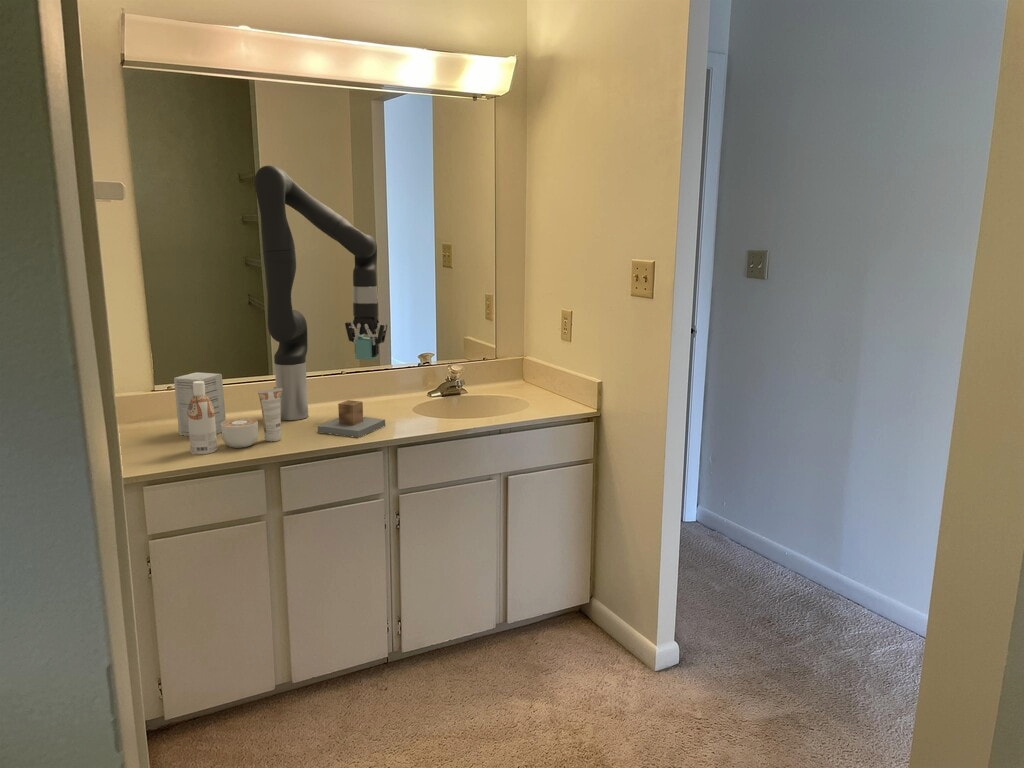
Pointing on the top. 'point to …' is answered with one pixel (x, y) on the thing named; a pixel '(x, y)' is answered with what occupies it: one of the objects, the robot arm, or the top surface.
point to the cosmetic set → (231, 422)
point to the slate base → (351, 427)
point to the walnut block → (350, 412)
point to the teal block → (363, 349)
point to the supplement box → (186, 393)
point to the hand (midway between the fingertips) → (366, 355)
